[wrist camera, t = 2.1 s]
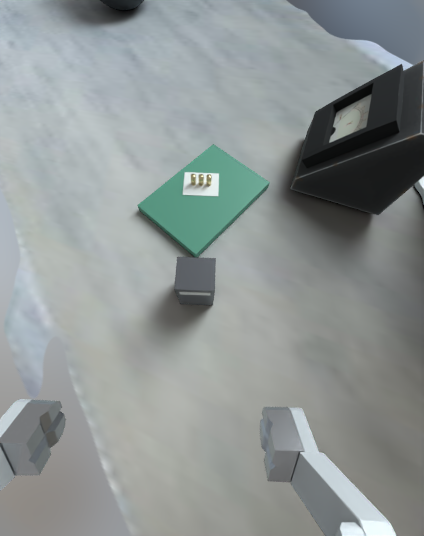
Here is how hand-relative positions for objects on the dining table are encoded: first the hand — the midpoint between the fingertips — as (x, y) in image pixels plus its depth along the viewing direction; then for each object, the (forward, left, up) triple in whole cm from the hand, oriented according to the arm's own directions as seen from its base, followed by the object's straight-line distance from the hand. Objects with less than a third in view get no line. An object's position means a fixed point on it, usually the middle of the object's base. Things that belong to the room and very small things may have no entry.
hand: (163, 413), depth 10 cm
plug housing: (-10, -8, -25) cm, 28 cm away
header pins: (-25, -21, -24) cm, 40 cm away
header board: (-24, -19, -25) cm, 39 cm away
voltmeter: (-46, -4, -26) cm, 52 cm away
